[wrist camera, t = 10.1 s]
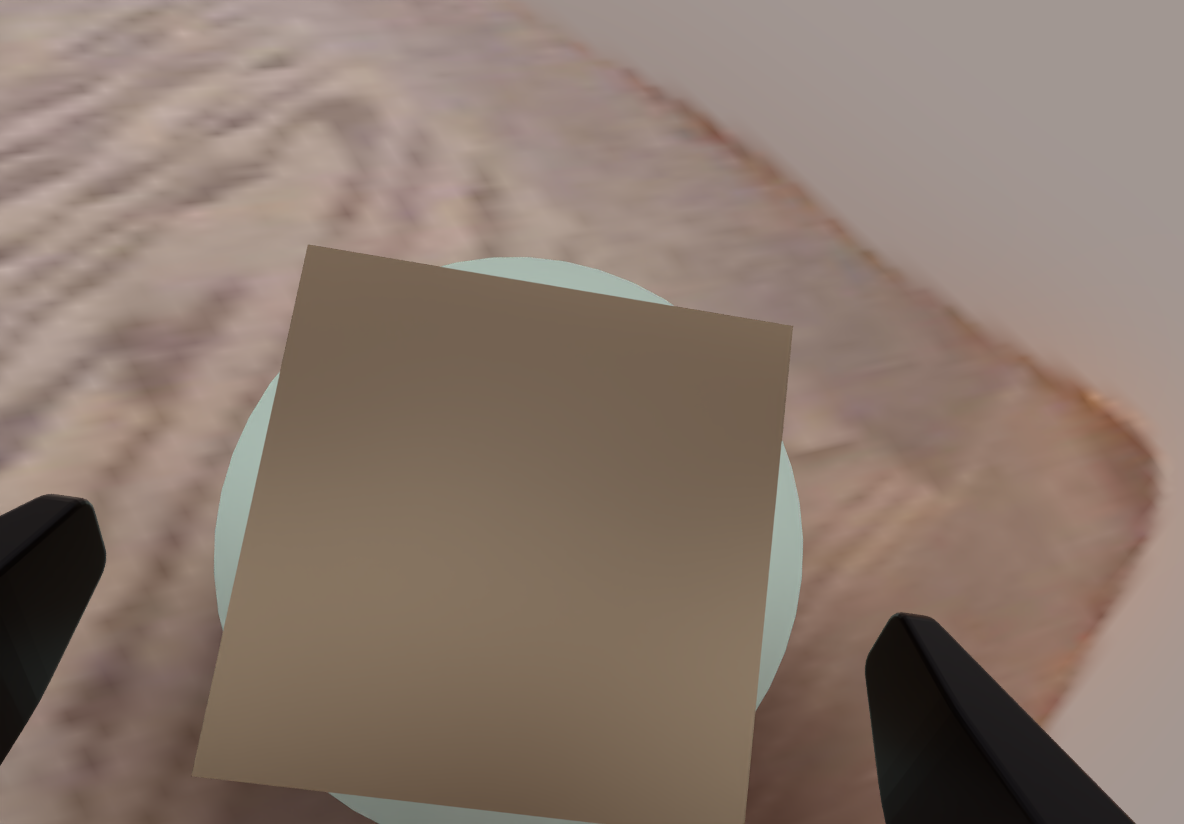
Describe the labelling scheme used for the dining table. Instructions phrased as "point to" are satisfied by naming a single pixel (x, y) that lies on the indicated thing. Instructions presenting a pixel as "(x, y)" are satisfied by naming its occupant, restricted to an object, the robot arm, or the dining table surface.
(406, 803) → the dish
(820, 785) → the dining table surface
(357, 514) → the walnut block
